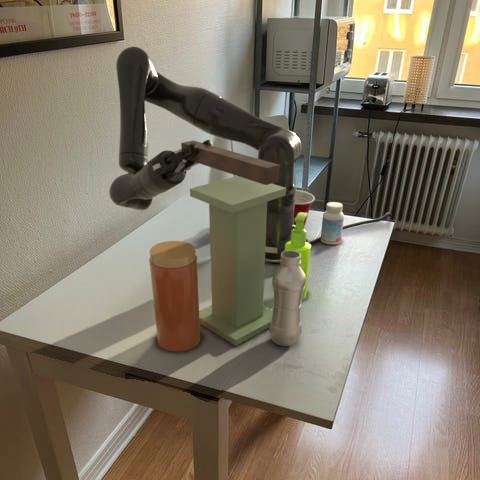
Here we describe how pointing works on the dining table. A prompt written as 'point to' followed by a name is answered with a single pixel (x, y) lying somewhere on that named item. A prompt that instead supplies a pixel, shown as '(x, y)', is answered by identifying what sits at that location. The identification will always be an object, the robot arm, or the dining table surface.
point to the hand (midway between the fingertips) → (203, 146)
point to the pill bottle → (332, 223)
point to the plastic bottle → (287, 299)
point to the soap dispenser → (300, 246)
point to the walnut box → (235, 163)
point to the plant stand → (237, 256)
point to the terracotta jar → (175, 294)
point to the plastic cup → (302, 204)
